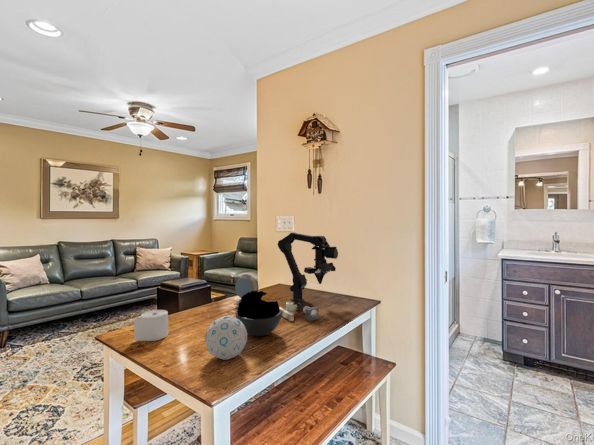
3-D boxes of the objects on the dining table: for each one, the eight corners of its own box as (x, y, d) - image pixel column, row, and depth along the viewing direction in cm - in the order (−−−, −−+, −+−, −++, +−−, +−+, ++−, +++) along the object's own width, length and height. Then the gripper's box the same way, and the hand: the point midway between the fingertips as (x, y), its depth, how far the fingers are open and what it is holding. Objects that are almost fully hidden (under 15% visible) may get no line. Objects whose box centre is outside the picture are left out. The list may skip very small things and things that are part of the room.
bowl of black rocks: (257, 323, 147) (257, 284, 147) (291, 332, 136) (290, 290, 135) (226, 336, 131) (225, 293, 130) (260, 348, 119) (260, 301, 119)
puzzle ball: (196, 360, 110) (196, 319, 109) (226, 345, 123) (226, 308, 122) (227, 371, 102) (226, 327, 101) (255, 354, 115) (255, 314, 114)
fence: (273, 311, 165) (273, 305, 165) (276, 310, 166) (276, 305, 166) (290, 321, 150) (290, 315, 150) (293, 320, 151) (293, 314, 151)
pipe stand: (301, 317, 155) (301, 306, 155) (310, 315, 158) (310, 304, 158) (309, 321, 149) (309, 310, 148) (319, 319, 152) (319, 308, 152)
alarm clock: (261, 303, 180) (261, 273, 179) (250, 308, 171) (250, 276, 171) (243, 300, 187) (243, 271, 187) (232, 304, 179) (231, 274, 178)
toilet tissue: (173, 332, 136) (173, 310, 136) (155, 343, 124) (155, 319, 124) (152, 330, 138) (152, 309, 138) (133, 341, 126) (132, 317, 126)
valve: (292, 317, 155) (304, 311, 165) (292, 304, 155) (304, 299, 165) (282, 315, 159) (294, 309, 169) (281, 302, 159) (294, 297, 169)
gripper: (313, 260, 166) (313, 288, 166) (341, 258, 175) (341, 284, 175) (303, 257, 175) (303, 284, 176) (330, 255, 184) (329, 281, 185)
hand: (320, 283), depth 178 cm, fingers closed
